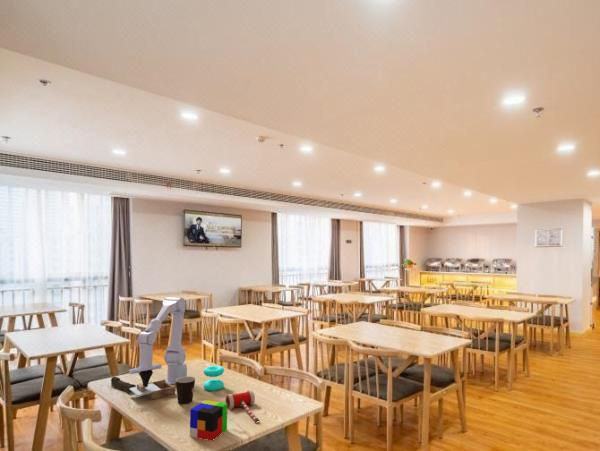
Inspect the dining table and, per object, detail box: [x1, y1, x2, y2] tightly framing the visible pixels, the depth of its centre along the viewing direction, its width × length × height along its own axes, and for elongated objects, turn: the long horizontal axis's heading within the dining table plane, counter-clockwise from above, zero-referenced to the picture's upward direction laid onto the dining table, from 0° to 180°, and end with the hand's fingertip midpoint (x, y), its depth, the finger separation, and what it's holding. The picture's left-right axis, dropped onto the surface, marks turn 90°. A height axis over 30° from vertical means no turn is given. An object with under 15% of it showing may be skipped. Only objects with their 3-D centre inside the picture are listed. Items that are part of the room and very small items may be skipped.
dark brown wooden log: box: [110, 376, 137, 394], centre depth 201 cm, size 19×4×5 cm, turn 52°
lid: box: [129, 382, 161, 397], centre depth 190 cm, size 11×11×3 cm
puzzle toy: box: [189, 399, 228, 441], centre depth 154 cm, size 10×10×10 cm
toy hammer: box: [225, 389, 260, 423], centre depth 173 cm, size 23×12×6 cm, turn 29°
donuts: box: [203, 365, 225, 392], centre depth 202 cm, size 10×10×10 cm
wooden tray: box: [145, 379, 177, 401], centre depth 194 cm, size 11×13×4 cm
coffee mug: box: [175, 375, 196, 405], centre depth 183 cm, size 12×9×10 cm
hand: (145, 386), depth 190 cm, fingers closed
